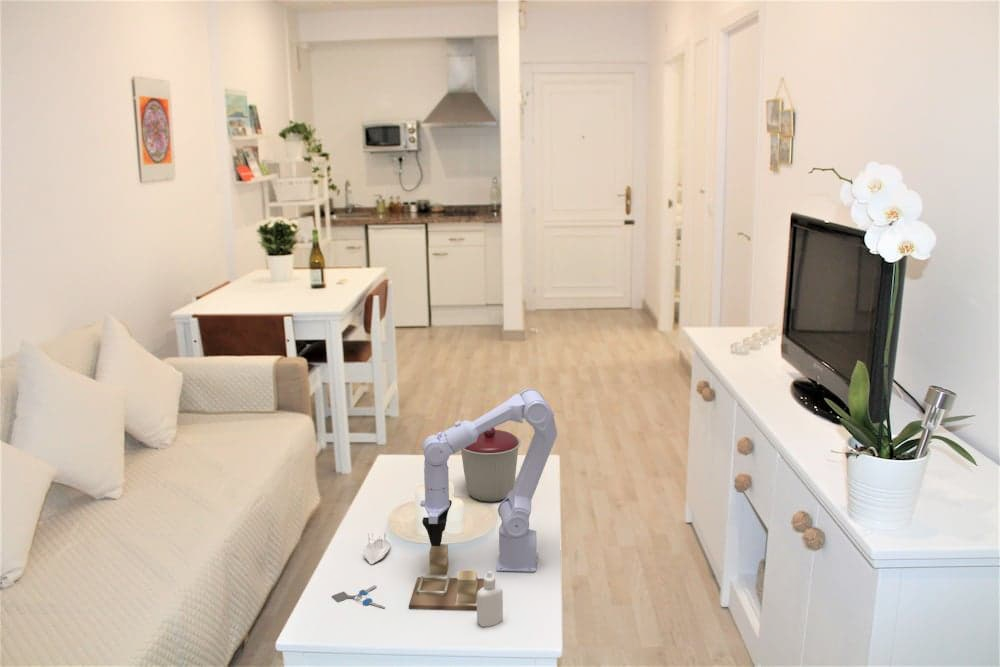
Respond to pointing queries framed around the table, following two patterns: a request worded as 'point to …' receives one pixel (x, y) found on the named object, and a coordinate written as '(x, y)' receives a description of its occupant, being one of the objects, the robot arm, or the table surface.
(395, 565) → the table surface
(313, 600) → the table surface
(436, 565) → the maple peg
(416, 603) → the board
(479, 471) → the canister
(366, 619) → the table surface
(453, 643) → the table surface
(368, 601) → the key chain
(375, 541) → the pincushion
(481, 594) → the eye dropper bottle
